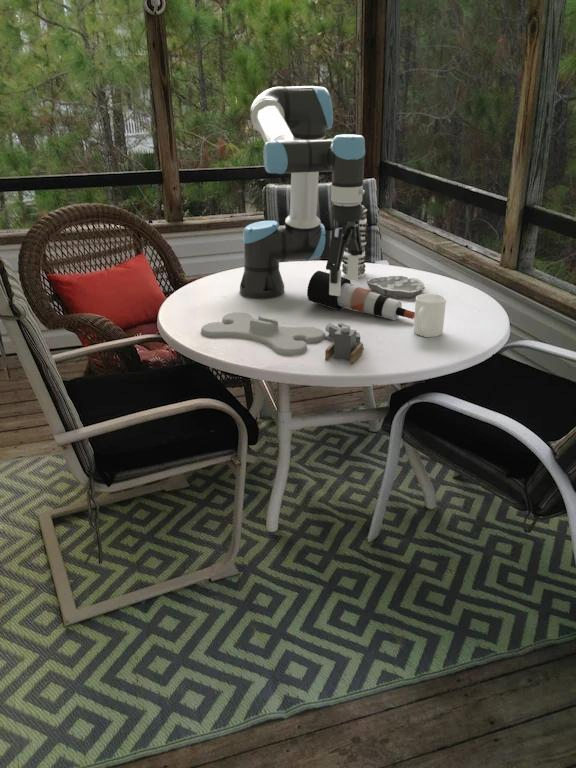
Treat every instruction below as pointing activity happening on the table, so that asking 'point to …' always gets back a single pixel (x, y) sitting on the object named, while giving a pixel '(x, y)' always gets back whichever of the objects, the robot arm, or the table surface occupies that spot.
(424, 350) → the table surface
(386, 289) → the brain slice
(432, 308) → the mug
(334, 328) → the clip
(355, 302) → the cable
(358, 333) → the clip
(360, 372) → the table surface
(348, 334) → the block
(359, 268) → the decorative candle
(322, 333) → the holder
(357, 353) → the end holder
